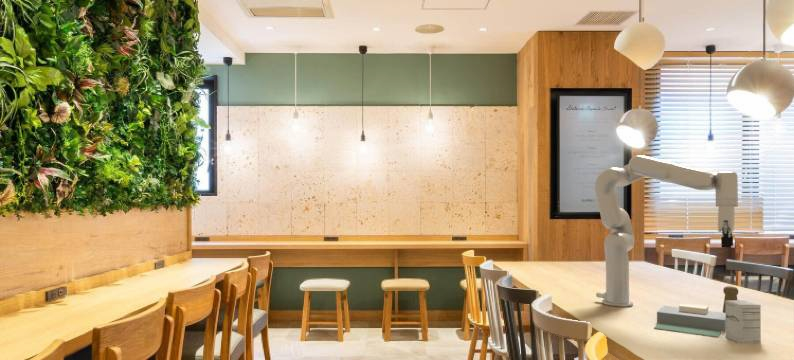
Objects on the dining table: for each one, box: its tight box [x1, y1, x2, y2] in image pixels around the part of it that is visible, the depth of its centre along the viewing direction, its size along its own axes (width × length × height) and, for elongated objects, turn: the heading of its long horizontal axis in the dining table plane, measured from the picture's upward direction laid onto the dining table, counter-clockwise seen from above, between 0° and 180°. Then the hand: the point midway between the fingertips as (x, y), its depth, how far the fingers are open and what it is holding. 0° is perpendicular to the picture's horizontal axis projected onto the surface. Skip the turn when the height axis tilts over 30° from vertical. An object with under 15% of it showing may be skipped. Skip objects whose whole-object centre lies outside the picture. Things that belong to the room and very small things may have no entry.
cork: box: [721, 285, 739, 313], centre depth 220 cm, size 6×6×11 cm
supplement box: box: [725, 299, 762, 344], centre depth 180 cm, size 7×7×13 cm
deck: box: [656, 305, 726, 332], centre depth 204 cm, size 22×14×4 cm, turn 54°
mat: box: [653, 323, 722, 338], centre depth 193 cm, size 20×10×1 cm, turn 54°
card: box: [678, 302, 709, 314], centre depth 206 cm, size 9×6×2 cm, turn 54°
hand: (727, 246), depth 213 cm, fingers open, 9 cm apart
